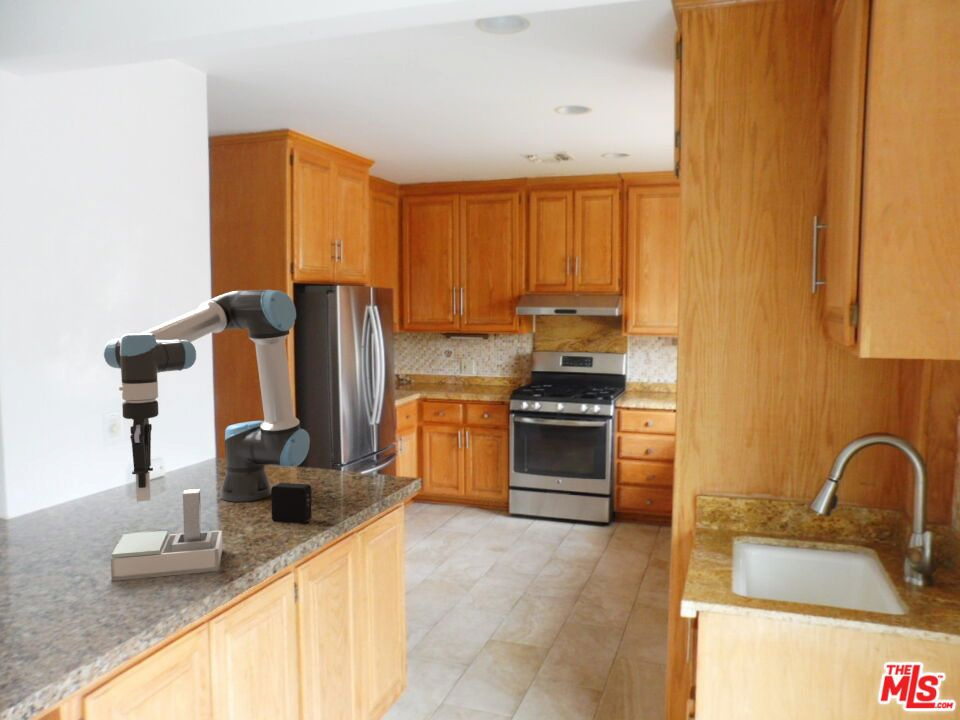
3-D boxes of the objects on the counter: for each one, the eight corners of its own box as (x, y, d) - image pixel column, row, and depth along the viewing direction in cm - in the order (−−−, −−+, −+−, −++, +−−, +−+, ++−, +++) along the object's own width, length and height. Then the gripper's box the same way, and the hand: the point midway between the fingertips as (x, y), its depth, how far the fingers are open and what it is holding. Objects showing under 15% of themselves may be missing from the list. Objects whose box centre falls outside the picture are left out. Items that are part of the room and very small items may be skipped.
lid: (124, 536, 169) (124, 532, 169) (168, 533, 172) (168, 529, 171) (111, 558, 155) (111, 553, 155) (159, 554, 157) (159, 549, 157)
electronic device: (305, 524, 196) (304, 488, 195) (271, 521, 198) (271, 486, 197) (311, 519, 200) (311, 484, 199) (278, 517, 202) (278, 482, 201)
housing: (124, 558, 169) (123, 534, 168) (222, 550, 175) (222, 526, 174) (111, 581, 155) (110, 554, 155) (218, 570, 162) (218, 545, 161)
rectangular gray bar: (186, 556, 168) (184, 489, 166) (201, 555, 169) (200, 488, 167) (184, 561, 164) (182, 493, 163) (200, 560, 165) (198, 492, 164)
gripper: (127, 397, 170) (131, 493, 172) (116, 404, 158) (120, 509, 160) (161, 396, 172) (164, 491, 174) (153, 403, 160) (156, 506, 162)
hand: (143, 499), depth 167 cm, fingers closed
